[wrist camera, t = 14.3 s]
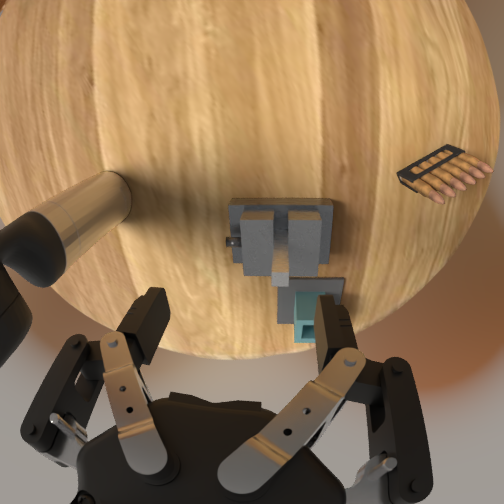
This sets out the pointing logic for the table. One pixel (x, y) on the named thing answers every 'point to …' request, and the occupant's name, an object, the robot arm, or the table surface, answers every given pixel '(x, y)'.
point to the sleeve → (305, 316)
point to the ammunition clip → (442, 173)
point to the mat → (305, 285)
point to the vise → (280, 236)
